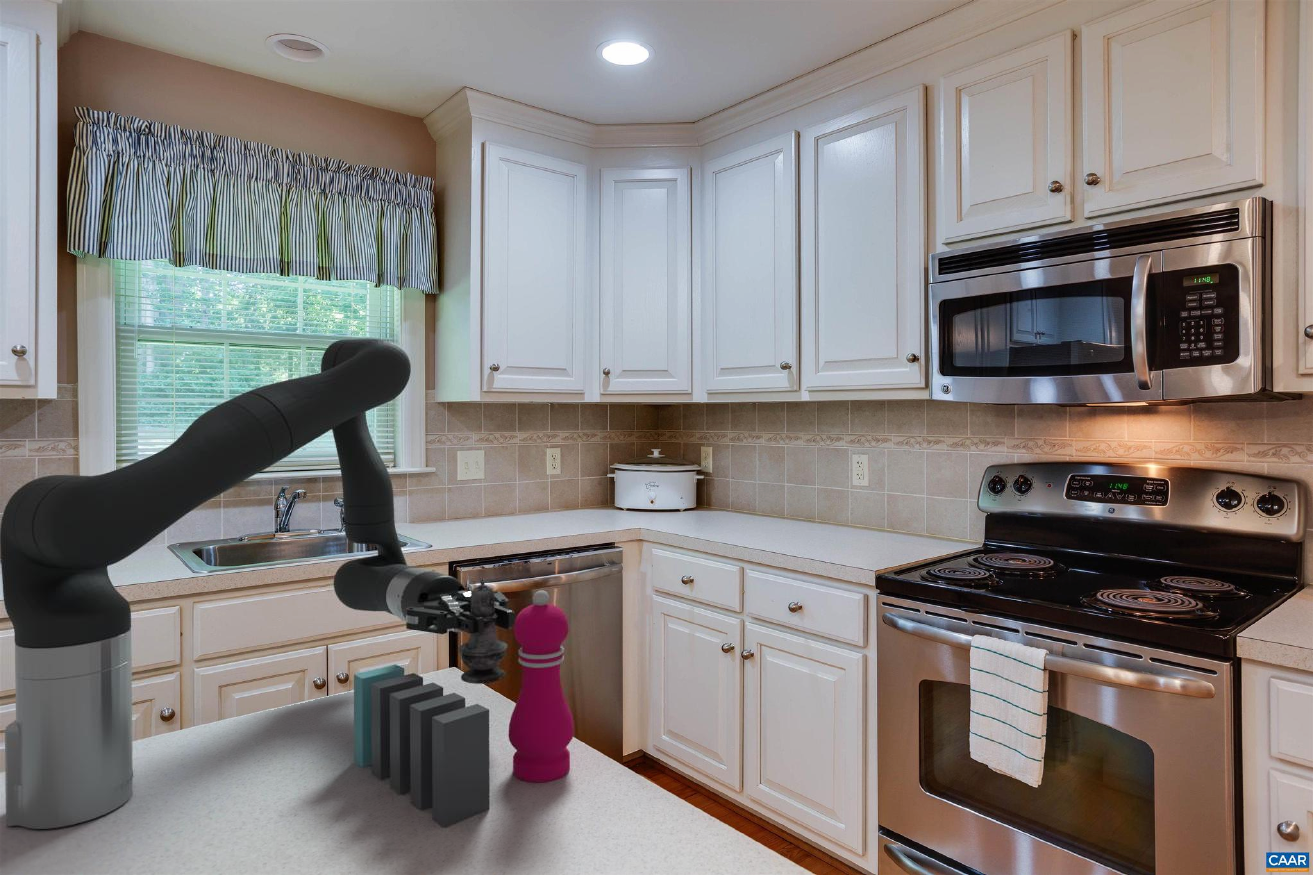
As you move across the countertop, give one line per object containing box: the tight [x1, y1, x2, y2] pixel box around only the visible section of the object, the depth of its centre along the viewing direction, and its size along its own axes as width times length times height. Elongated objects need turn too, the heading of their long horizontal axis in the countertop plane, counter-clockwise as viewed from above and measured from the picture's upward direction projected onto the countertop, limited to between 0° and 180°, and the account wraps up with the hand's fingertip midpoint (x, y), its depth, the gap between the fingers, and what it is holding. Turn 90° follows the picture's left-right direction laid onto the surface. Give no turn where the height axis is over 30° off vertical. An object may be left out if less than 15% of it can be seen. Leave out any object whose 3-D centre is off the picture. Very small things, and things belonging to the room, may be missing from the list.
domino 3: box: [389, 682, 444, 796], centre depth 80 cm, size 2×5×10 cm, turn 135°
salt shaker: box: [457, 578, 509, 685], centre depth 92 cm, size 6×6×12 cm
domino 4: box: [410, 692, 466, 812], centre depth 77 cm, size 2×5×10 cm, turn 135°
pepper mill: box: [508, 590, 575, 783], centre depth 83 cm, size 7×7×20 cm
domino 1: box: [353, 664, 405, 768], centre depth 86 cm, size 2×5×10 cm, turn 135°
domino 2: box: [371, 672, 424, 782], centre depth 83 cm, size 2×5×10 cm, turn 135°
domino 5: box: [432, 703, 491, 829], centre depth 74 cm, size 2×5×10 cm, turn 135°
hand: (496, 623), depth 90 cm, fingers closed on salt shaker, 3 cm apart
